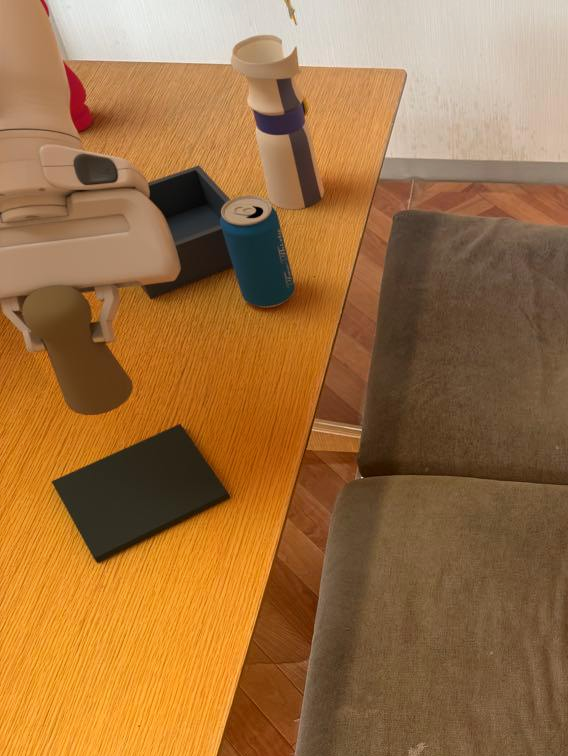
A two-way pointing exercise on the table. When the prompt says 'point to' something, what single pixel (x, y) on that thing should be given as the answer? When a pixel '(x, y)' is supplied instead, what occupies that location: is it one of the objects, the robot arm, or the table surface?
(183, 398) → the table surface
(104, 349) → the brown pawn
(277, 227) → the beverage can
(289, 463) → the table surface
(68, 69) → the pepper mill
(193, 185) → the bin
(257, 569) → the table surface
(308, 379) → the table surface
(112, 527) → the mat
